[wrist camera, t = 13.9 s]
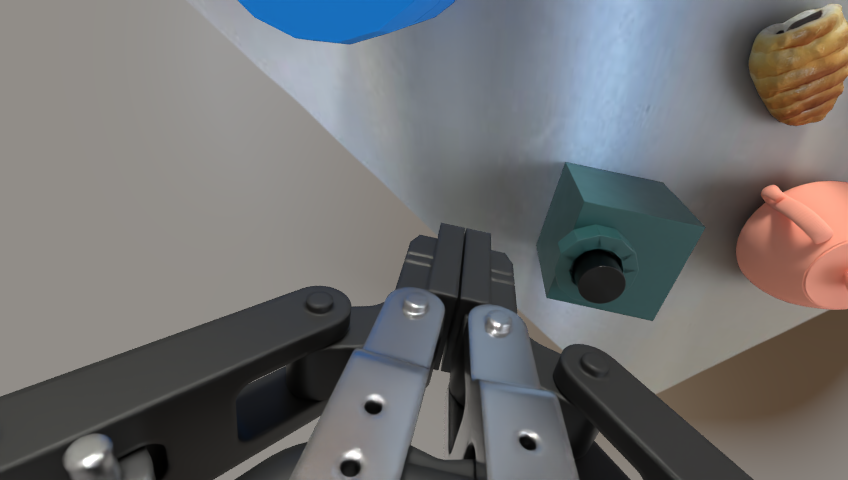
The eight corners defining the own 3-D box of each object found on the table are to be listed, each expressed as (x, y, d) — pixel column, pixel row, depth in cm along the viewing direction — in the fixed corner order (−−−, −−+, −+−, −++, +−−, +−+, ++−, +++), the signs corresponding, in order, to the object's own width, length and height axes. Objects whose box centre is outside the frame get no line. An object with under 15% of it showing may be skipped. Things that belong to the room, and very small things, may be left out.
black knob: (566, 281, 38) (571, 298, 36) (581, 245, 36) (587, 261, 34) (608, 290, 38) (615, 308, 35) (624, 254, 36) (633, 271, 34)
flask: (528, 243, 50) (539, 309, 39) (557, 160, 45) (578, 209, 34) (623, 264, 49) (660, 335, 39) (663, 182, 44) (717, 238, 34)
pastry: (842, 102, 39) (875, 112, 36) (756, 135, 41) (779, 147, 38) (830, -5, 35) (864, -5, 32) (736, 37, 38) (760, 41, 34)
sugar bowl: (762, 298, 49) (823, 364, 40) (692, 214, 46) (741, 266, 37) (887, 232, 44) (988, 292, 35) (818, 132, 40) (912, 170, 31)
